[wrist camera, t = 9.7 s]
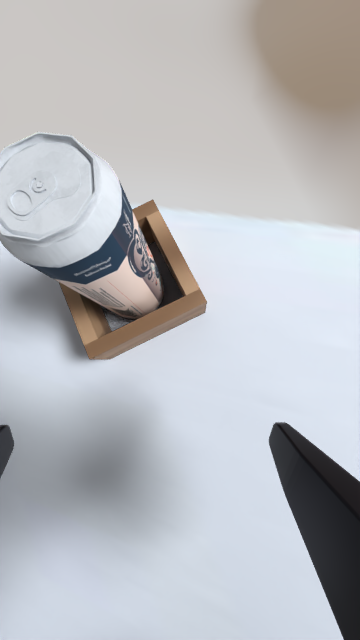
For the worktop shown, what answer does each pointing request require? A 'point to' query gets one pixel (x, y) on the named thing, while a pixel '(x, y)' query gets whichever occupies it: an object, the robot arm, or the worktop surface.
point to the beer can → (76, 223)
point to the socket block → (191, 305)
